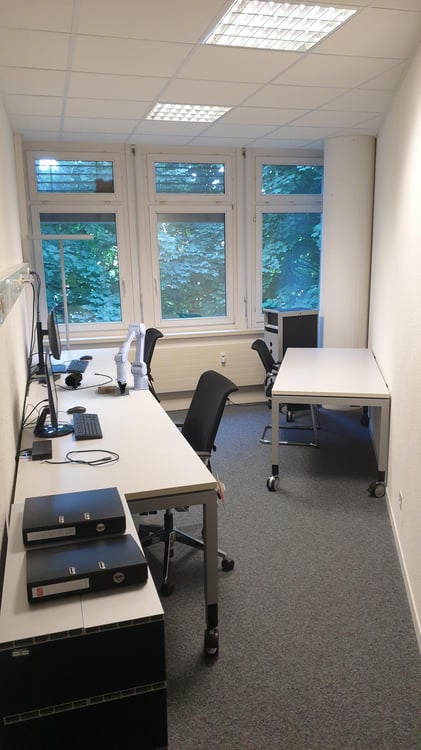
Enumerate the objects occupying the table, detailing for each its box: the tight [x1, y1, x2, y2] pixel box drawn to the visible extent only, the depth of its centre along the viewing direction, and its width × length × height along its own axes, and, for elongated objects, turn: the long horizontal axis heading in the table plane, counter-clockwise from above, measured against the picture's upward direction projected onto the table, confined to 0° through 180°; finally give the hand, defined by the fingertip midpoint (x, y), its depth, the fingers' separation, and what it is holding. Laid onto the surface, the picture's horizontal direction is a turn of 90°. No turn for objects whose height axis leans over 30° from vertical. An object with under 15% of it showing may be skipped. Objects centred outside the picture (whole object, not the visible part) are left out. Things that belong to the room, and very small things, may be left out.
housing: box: [114, 385, 130, 397], centre depth 349 cm, size 8×4×5 cm, turn 106°
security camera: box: [64, 371, 84, 390], centre depth 368 cm, size 7×18×10 cm, turn 174°
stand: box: [97, 385, 118, 395], centre depth 358 cm, size 12×12×2 cm
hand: (122, 392), depth 349 cm, fingers closed on housing, 4 cm apart
